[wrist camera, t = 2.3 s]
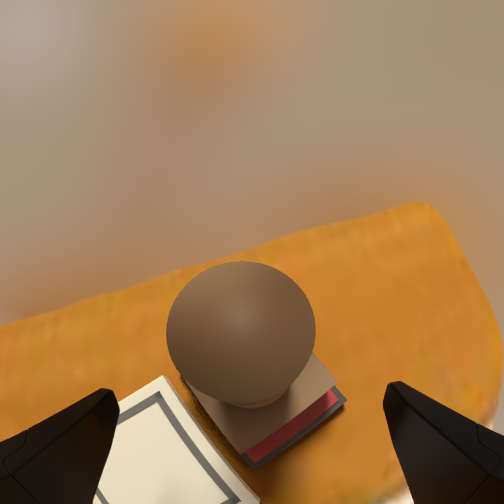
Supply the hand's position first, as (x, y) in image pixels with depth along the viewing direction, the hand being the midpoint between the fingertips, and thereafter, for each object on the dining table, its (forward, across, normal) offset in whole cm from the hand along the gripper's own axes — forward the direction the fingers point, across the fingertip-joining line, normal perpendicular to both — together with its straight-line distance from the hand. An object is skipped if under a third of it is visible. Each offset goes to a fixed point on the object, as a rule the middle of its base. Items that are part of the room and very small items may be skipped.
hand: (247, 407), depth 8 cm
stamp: (+7, 0, +5) cm, 9 cm away
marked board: (+3, +7, +10) cm, 13 cm away
